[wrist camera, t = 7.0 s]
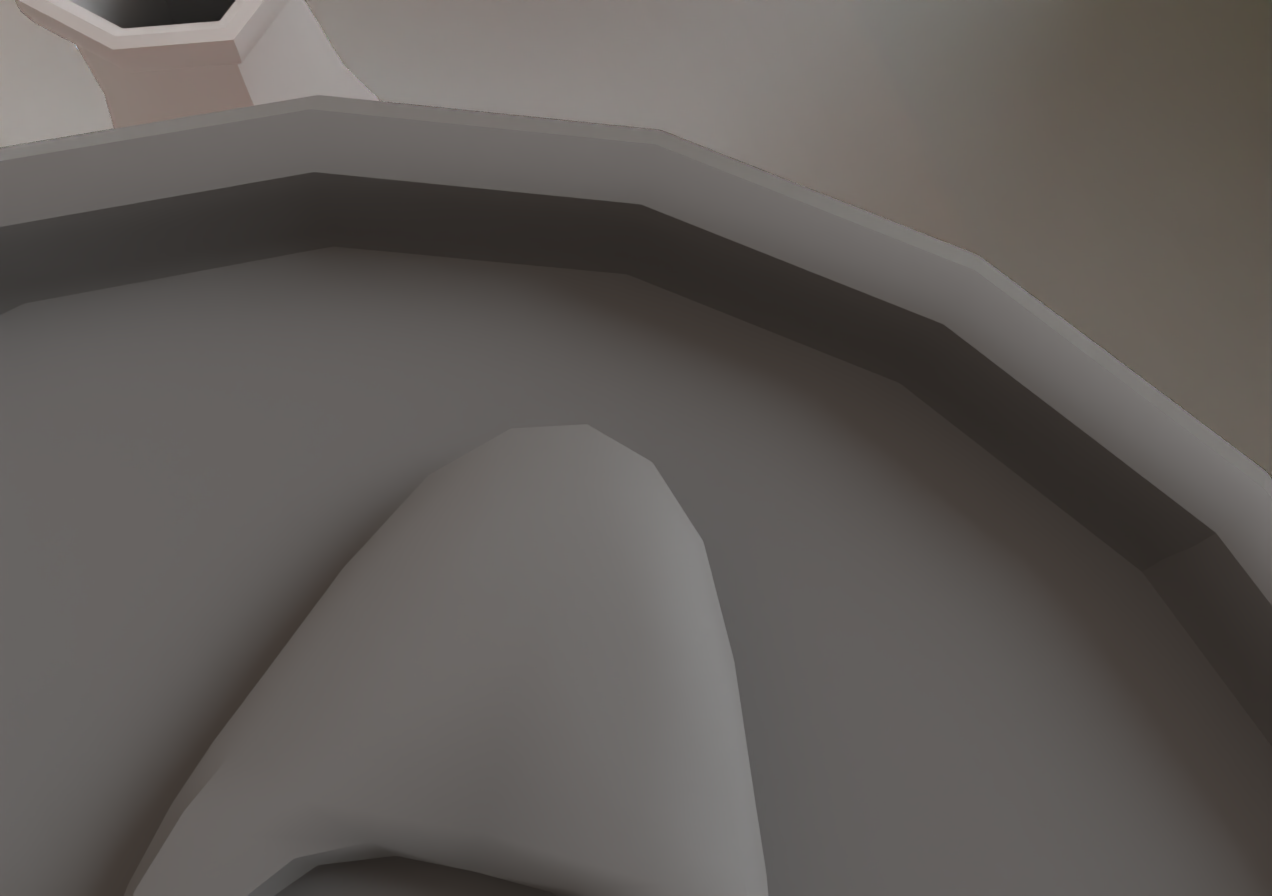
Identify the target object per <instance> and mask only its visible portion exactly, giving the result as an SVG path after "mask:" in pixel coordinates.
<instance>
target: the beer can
mask: <svg viewBox="0 0 1272 896" xmlns="http://www.w3.org/2000/svg"><path fill="white" fill-rule="evenodd" d="M0 896H1272V478H1271V477H1270V476H1269V474H1268V473H1267V472H1266V471H1265V470H1264V469H1263V468H1261V467H1260V466H1259V465H1257V464H1256V463H1255V462H1253V461H1252V460H1251V459H1249V458H1248V457H1247V456H1245V455H1244V454H1243V453H1241V452H1240V451H1239V450H1237V449H1236V448H1235V447H1233V446H1232V445H1231V444H1229V443H1228V442H1227V441H1225V440H1224V439H1223V438H1221V437H1220V436H1219V435H1217V434H1216V433H1215V432H1213V431H1212V430H1211V429H1209V428H1208V427H1207V426H1205V425H1204V424H1203V423H1201V422H1200V421H1199V420H1197V419H1196V418H1195V417H1193V416H1192V415H1191V414H1189V413H1188V412H1187V411H1185V410H1184V409H1183V408H1181V407H1180V406H1179V405H1177V404H1176V403H1175V402H1173V401H1172V400H1171V399H1169V398H1168V397H1167V396H1165V395H1164V394H1163V393H1161V392H1160V391H1159V390H1157V389H1156V388H1155V387H1153V386H1152V385H1151V384H1150V383H1148V382H1147V381H1146V380H1144V379H1143V378H1142V377H1140V376H1139V375H1138V374H1136V373H1135V372H1134V371H1132V370H1131V369H1130V368H1128V367H1127V366H1126V365H1124V364H1123V363H1122V362H1120V361H1119V360H1118V359H1116V358H1115V357H1114V356H1112V355H1111V354H1110V353H1108V352H1107V351H1106V350H1104V349H1103V348H1102V347H1100V346H1099V345H1098V344H1096V343H1095V342H1094V341H1092V340H1091V339H1090V338H1088V337H1087V336H1086V335H1084V334H1083V333H1082V332H1080V331H1079V330H1078V329H1076V328H1075V327H1074V326H1072V325H1071V324H1070V323H1068V322H1067V321H1066V320H1064V319H1063V318H1062V317H1060V316H1059V315H1058V314H1056V313H1055V312H1054V311H1052V310H1051V309H1050V308H1048V307H1047V306H1046V305H1044V304H1043V303H1042V302H1040V301H1039V300H1038V299H1036V298H1035V297H1034V296H1032V295H1031V294H1030V293H1028V292H1027V291H1026V290H1024V289H1023V288H1022V287H1020V286H1019V285H1018V284H1016V283H1015V282H1014V281H1012V280H1011V279H1010V278H1008V277H1007V276H1006V275H1004V274H1003V273H1002V272H1000V271H999V270H998V269H996V268H995V267H994V266H992V265H991V264H990V263H989V262H987V261H986V260H985V259H983V258H982V257H981V256H979V255H977V254H975V253H972V252H970V251H967V250H965V249H962V248H960V247H957V246H954V245H952V244H949V243H947V242H944V241H942V240H939V239H937V238H934V237H932V236H929V235H927V234H924V233H921V232H919V231H916V230H914V229H911V228H909V227H906V226H904V225H901V224H899V223H896V222H893V221H891V220H888V219H886V218H883V217H881V216H878V215H876V214H873V213H871V212H868V211H865V210H863V209H860V208H858V207H855V206H853V205H850V204H848V203H845V202H843V201H840V200H838V199H835V198H832V197H830V196H827V195H825V194H822V193H820V192H817V191H815V190H812V189H810V188H807V187H804V186H802V185H799V184H797V183H794V182H792V181H789V180H787V179H784V178H782V177H779V176H776V175H774V174H771V173H769V172H766V171H764V170H761V169H759V168H756V167H754V166H751V165H749V164H746V163H743V162H741V161H738V160H736V159H733V158H731V157H728V156H726V155H723V154H721V153H718V152H715V151H713V150H710V149H708V148H705V147H703V146H700V145H698V144H695V143H693V142H690V141H687V140H685V139H682V138H680V137H677V136H675V135H672V134H670V133H667V132H665V131H662V130H656V129H646V128H636V127H627V126H617V125H607V124H597V123H588V122H578V121H568V120H558V119H549V118H539V117H529V116H519V115H510V114H500V113H490V112H480V111H471V110H461V109H451V108H441V107H432V106H422V105H412V104H402V103H393V102H383V101H373V100H363V99H354V98H344V97H334V96H324V95H315V96H309V97H303V98H297V99H291V100H285V101H279V102H273V103H267V104H260V105H254V106H248V107H242V108H236V109H230V110H224V111H218V112H212V113H206V114H200V115H194V116H188V117H182V118H176V119H170V120H164V121H157V122H151V123H145V124H139V125H133V126H127V127H121V128H115V129H109V130H103V131H97V132H91V133H85V134H79V135H73V136H67V137H61V138H55V139H48V140H42V141H36V142H30V143H24V144H18V145H12V146H6V147H0Z"/></svg>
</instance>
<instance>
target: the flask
mask: <svg viewBox="0 0 1272 896" xmlns="http://www.w3.org/2000/svg"><path fill="white" fill-rule="evenodd" d="M15 2H16V3H17V5H18V7H19V9H20V11H21V12H22V13H23V14H25V15H26V16H27V17H28V18H29V19H31V20H32V21H33V22H34V23H36V24H38V25H39V26H41V27H43V28H45V29H47V30H49V31H51V32H53V33H55V34H57V35H58V36H60V37H62V38H64V39H66V40H68V41H70V42H72V43H74V44H76V46H77V48H78V49H79V51H80V53H81V55H82V56H83V58H84V60H85V62H86V63H87V65H88V67H89V69H90V70H91V72H92V74H93V76H94V77H95V79H96V81H97V82H98V84H99V86H100V88H101V89H102V91H103V93H104V95H105V98H106V102H107V106H108V109H109V113H110V116H111V120H112V124H113V127H114V129H115V128H121V127H127V126H133V125H139V124H145V123H151V122H157V121H164V120H170V119H176V118H182V117H188V116H194V115H200V114H206V113H212V112H218V111H224V110H230V109H236V108H242V107H248V106H254V105H260V104H267V103H273V102H279V101H285V100H291V99H297V98H303V97H309V96H315V95H324V96H334V97H344V98H354V99H363V100H373V101H380V100H379V99H378V98H377V97H376V96H375V95H374V94H373V93H372V92H371V91H370V90H369V89H368V88H367V87H366V86H365V85H364V84H363V83H362V82H361V81H360V80H359V79H358V78H357V77H356V76H355V75H354V74H353V73H352V72H351V71H350V70H349V69H348V68H347V67H346V66H345V65H344V64H343V62H342V61H341V59H340V57H339V56H338V54H337V52H336V51H335V49H334V47H333V46H332V44H331V43H330V41H329V39H328V38H327V36H326V34H325V33H324V31H323V29H322V28H321V26H320V24H319V23H318V21H317V20H316V18H315V16H314V15H313V13H312V11H311V10H310V8H309V6H308V5H307V3H306V1H305V0H15Z"/></svg>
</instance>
